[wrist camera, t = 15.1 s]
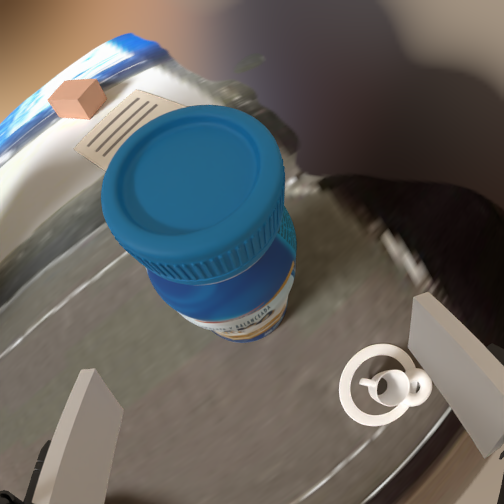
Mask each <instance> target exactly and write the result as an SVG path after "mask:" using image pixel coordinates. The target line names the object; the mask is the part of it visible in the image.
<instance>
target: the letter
mask: <svg viewBox="0 0 504 504" xmlns="http://www.w3.org/2000/svg"><path fill="white" fill-rule="evenodd" d="M185 107H186V106H183V105H181V104H178V103H175V102H172V101H169V100H167V99H164V98H161V97H158V96H155V95H152V94H149V93H146V92H143V91H139V90H135V91H134V92H133V93H132V94H130V95H129V96H128V97H127V98H126V99H125V100H123V101H122V102H121V103H120V104H119V105H118V106H117V107H115V108H114V109H113V110H112V111H111V112H110V113H109V114H108V115H107V116H106V117H105V118H104V119H102V120H101V121H100V122H99V123H98V124H97V125H96V126H95V127H94V128H93V129H92V130H91V131H90V132H89V133H88V134H87V135H86V136H85V137H84V138H83V139H82V140H81V141H80V142H79V143H78V144H77V145H76V147H75V148H74V150H75V151H76V152H78V153H79V154H81V155H82V156H84V157H85V158H87V159H88V160H90V161H91V162H92V163H94V164H95V165H97V166H98V167H100V168H101V169H103V170H104V171H106V170H107V168H108V165H109V163H110V161H111V160H112V158H113V156H114V155H115V153H116V152H117V150H118V149H119V148H120V146H121V145H122V144H123V143H124V142H125V141H126V140H127V139H128V138H129V137H130V136H131V135H132V134H133V133H134V132H135V131H136V130H138V129H139V128H140V127H142V126H143V125H145V124H146V123H148V122H149V121H151V120H153V119H155V118H157V117H159V116H161V115H163V114H165V113H168V112H171V111H173V110H177V109H180V108H185Z"/></svg>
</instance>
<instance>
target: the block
mask: <svg viewBox="0 0 504 504" xmlns="http://www.w3.org/2000/svg"><path fill="white" fill-rule="evenodd" d="M106 100H107V98H106V96H105V94H104V92H103V90H102V88H101V86H100V84H99V83H98V81H97V79H82V80H68V81H64V82H63V83H62V84H61V86H60V87H59V88H58V89H57V90H56V91H55V92H54V93H53V94H52V95H51V97H50V98H49V99H48V102H49V103H50V104H51V106H52V107H53V109H54V110H55V112H56V113H57V115H58V116H59V117H60V118H75V119H89V120H90V119H91V118H92V116H93V115H94V114H95V113H96V112H97V110H98V109H99V108H100V107H101V106H102V104H103V103H104V102H105V101H106Z"/></svg>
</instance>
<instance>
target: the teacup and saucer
mask: <svg viewBox="0 0 504 504" xmlns="http://www.w3.org/2000/svg"><path fill="white" fill-rule="evenodd" d="M377 355H387V356H391V357H393V358H395V359H397V360H398V361H399V362H400V363H401V364H402V365H403V367H404V369H405V371H406V372H405V373H404V372H402V371H400V370H388V371H383V372H380V373H378V374H376V375H375V376H374V377H373V378H372V379H366V378H361V379H360V382H359V384H360V385H365V386H368V390H369V394H370V395H371V397H372V398H373V399H374V400H376V401H377V402H379V403H381V404H383V405H386V406H396V405H398V404H399V405H398V406H397V407H396V408H395V409H393V410H392V411H390V412H388V413H386V414H383V415H368V414H366V413H364V412H362V411H360V410H359V409H358V408H357V407H356V406H355V404H354V402H353V400H352V398H351V394H350V384H351V379H352V376H353V374H354V372H355V371H356V369H357V368H358V366H359V365H360V364H361V363H362V362H364V361H365V360H367V359H368V358H370V357H373V356H377ZM381 378H384V379H385V380H386V381H387V389H386V391H385V392H384V393H383V394H381V395H377V386H378V383H379V381H380V379H381ZM418 382H419V384H420V390H419V391H418V392H417V393H416V390H417V383H418ZM431 390H432V380H431V378H430V377H429V376H428V374H427V373H426V372H425V370H423V369H420V368H416V367H415V365H414V363H413V361H412V359H411V358H410V356H409V355H408V354H407V353H406V352H405V351H404V350H402V349H401V348H399V347H397V346H394V345H391V344H374V345H371V346H368V347H366V348H364V349H362V350H360V351H359V352H358V353H356V354H355V355H354V356H353V357H352V358H351V359H350V360H349V362H348V363H347V365H346V366H345V368H344V370H343V372H342V375H341V378H340V383H339V396H340V400H341V404H342V406H343V408H344V410H345V411H346V413H347V414H348V415H349V416H350V417H351V418H352V419H353V420H355V421H357V422H358V423H361V424H363V425H368V426H380V425H385V424H388V423H390V422H392V421H394V420H396V419H397V418H399V417H400V416H401V415H402V414H403V413H404V412H405V411H406V410H407V409H408V408H409V406H417V405H420V404H422V403H423V402H424V401H426V400H427V398H428V397H429V395H430V393H431Z"/></svg>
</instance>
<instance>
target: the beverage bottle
mask: <svg viewBox="0 0 504 504" xmlns="http://www.w3.org/2000/svg"><path fill="white" fill-rule="evenodd" d="M284 168H285V167H284V166H283V159H282V157H281V153H280V150H279V147H278V145H277V143H276V141H275V139H274V137H273V136H272V134H271V133H270V132H269V130H268V129H267V128H266V127H265V126H264V125H263V124H262V123H261V122H259V121H258V120H257V119H255V118H254V117H252V116H250V115H249V114H247V113H244V112H242V111H240V110H237V109H233V108H230V107H225V106H218V105H197V106H190V107H185V108H180V109H177V110H173V111H171V112H168V113H165V114H163V115H161V116H159V117H157V118H155V119H153V120H151V121H149V122H148V123H146V124H145V125H143V126H142V127H140V128H139V129H138V130H136V131H135V132H134V133H133V134H132V135H131V136H130V137H129V138H128V139H127V140H126V141H125V142H124V143H123V144H122V145H121V146H120V148H119V149H118V150H117V152H116V153H115V155H114V156H113V158H112V160H111V161H110V163H109V165H108V168H107V170H106V173H105V176H104V179H103V184H102V190H101V204H102V210H103V214H104V217H105V220H106V223H107V225H108V227H109V228H110V230H111V233H112V234H113V235H114V236H115V239H116V240H117V241H118V242H119V244H120V245H121V246H122V247H123V248H124V249H125V250H126V251H127V252H128V253H130V254H131V255H132V256H133V257H134V258H135V259H136V260H138V261H139V262H140V263H141V264H143V265H144V266H145V267H146V269H147V273H148V275H149V278H150V280H151V282H152V284H153V286H154V288H155V290H156V291H157V293H158V294H159V295H160V296H161V298H162V299H163V300H164V301H165V302H166V303H167V304H168V305H170V306H171V307H172V308H173V309H175V310H176V311H177V312H179V313H180V314H181V315H182V316H183V317H184V318H186V319H187V320H188V321H190V322H192V323H193V324H195V325H197V326H199V327H202V328H205V329H208V330H211V331H213V332H214V333H215V334H217V335H218V336H220V337H222V338H224V339H226V340H229V341H233V342H239V343H246V342H253V341H256V340H259V339H261V338H264V337H265V336H267V335H269V334H270V333H271V332H272V331H274V330H275V329H276V327H277V326H278V325H279V324H280V322H281V321H282V319H283V317H284V315H285V312H286V309H287V303H288V294H289V292H290V290H291V287H292V285H293V281H294V277H295V271H296V250H297V242H296V234H295V229H294V225H293V222H292V220H291V217H290V215H289V213H288V211H287V210H286V208H285V206H284V191H285V172H284Z"/></svg>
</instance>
